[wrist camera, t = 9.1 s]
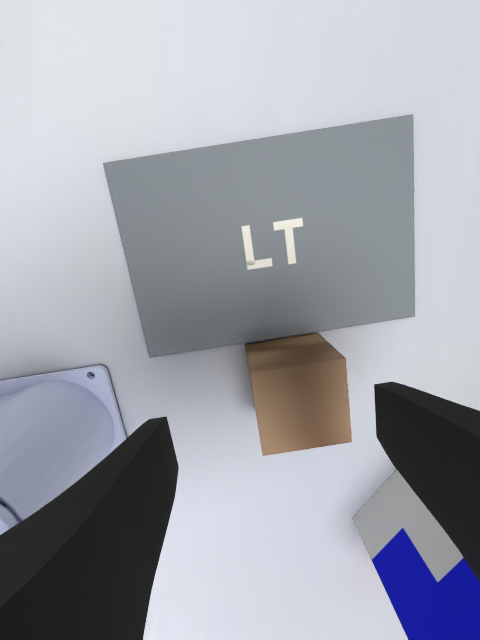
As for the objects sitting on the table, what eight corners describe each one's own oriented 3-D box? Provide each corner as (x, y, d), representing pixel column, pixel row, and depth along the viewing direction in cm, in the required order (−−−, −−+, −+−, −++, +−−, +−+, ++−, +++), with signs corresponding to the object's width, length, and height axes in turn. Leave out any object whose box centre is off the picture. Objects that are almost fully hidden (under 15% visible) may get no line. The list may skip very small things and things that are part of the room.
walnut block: (255, 408, 21) (262, 455, 16) (244, 343, 20) (249, 373, 15) (323, 397, 21) (351, 441, 16) (317, 332, 19) (345, 358, 15)
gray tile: (150, 356, 19) (149, 357, 19) (105, 164, 17) (102, 162, 16) (412, 315, 19) (415, 316, 19) (410, 116, 17) (413, 114, 16)
